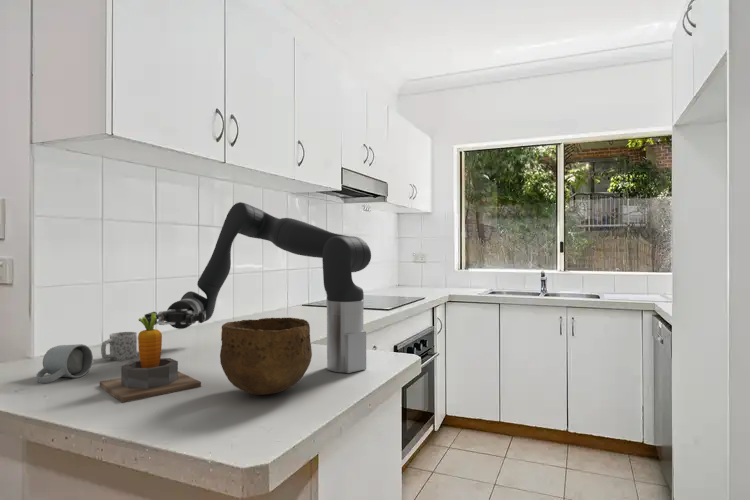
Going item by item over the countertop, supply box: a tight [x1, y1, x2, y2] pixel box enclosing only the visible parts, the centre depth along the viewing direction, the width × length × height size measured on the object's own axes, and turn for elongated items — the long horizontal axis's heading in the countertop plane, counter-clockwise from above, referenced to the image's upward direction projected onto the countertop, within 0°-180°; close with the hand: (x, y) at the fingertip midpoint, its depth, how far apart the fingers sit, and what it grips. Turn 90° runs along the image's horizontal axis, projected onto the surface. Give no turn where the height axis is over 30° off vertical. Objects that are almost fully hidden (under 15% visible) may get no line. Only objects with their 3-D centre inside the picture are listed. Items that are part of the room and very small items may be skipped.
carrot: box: [137, 312, 163, 368], centre depth 107 cm, size 5×5×15 cm
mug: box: [100, 331, 138, 361], centre depth 134 cm, size 10×7×7 cm, turn 157°
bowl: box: [219, 317, 313, 396], centre depth 102 cm, size 19×19×15 cm
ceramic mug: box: [36, 343, 94, 384], centre depth 114 cm, size 11×8×8 cm
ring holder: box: [99, 357, 202, 403], centre depth 107 cm, size 16×16×5 cm
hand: (169, 321), depth 119 cm, fingers open, 8 cm apart
